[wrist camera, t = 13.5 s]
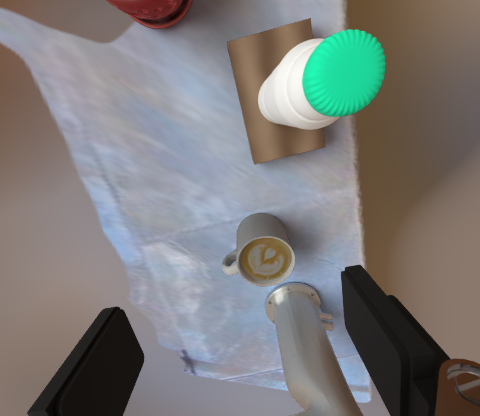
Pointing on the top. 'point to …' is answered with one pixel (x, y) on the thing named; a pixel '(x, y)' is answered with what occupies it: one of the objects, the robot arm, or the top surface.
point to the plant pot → (154, 11)
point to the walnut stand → (250, 81)
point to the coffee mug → (261, 251)
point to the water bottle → (323, 80)
